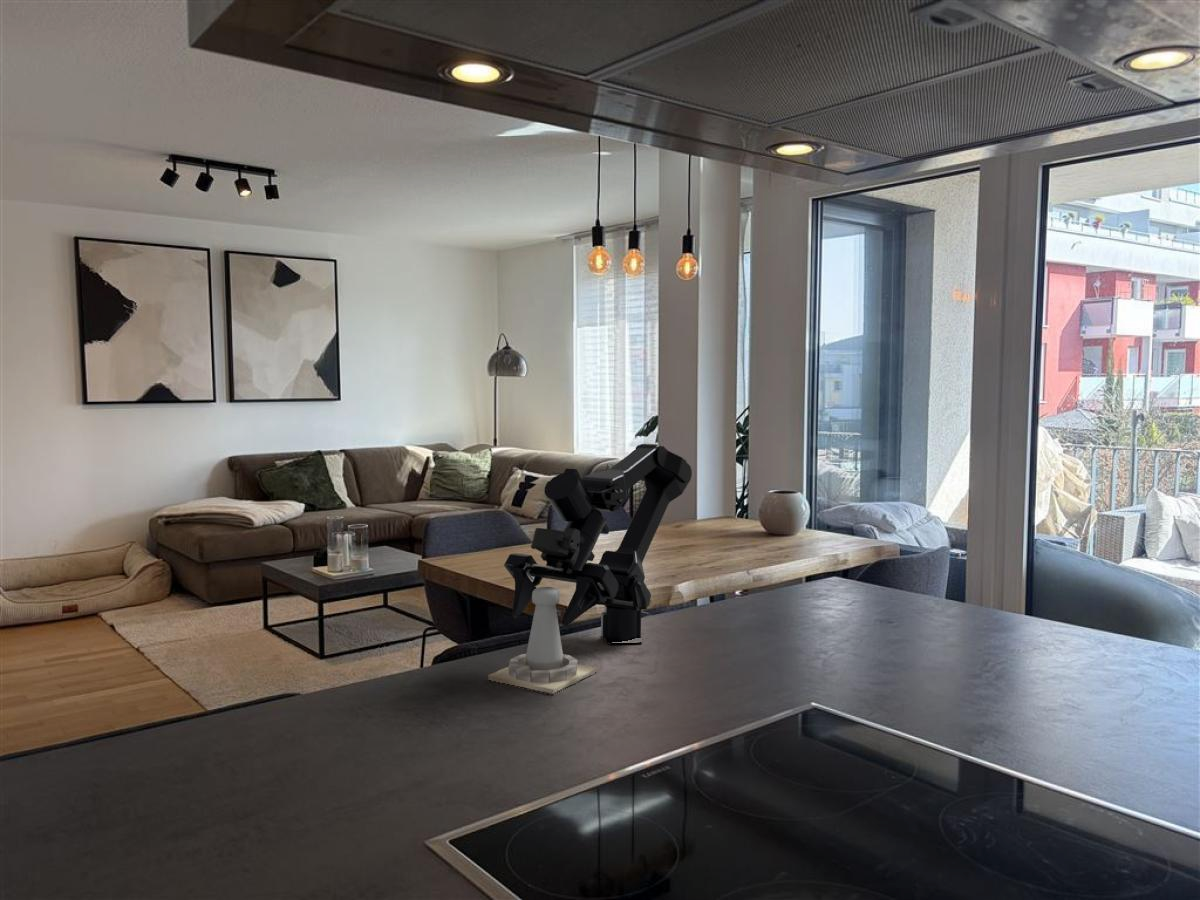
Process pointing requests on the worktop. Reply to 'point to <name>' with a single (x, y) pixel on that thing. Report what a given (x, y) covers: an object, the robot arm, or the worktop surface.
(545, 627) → the salt shaker
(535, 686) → the ring stand
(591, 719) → the worktop surface
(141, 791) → the worktop surface
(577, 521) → the robot arm
